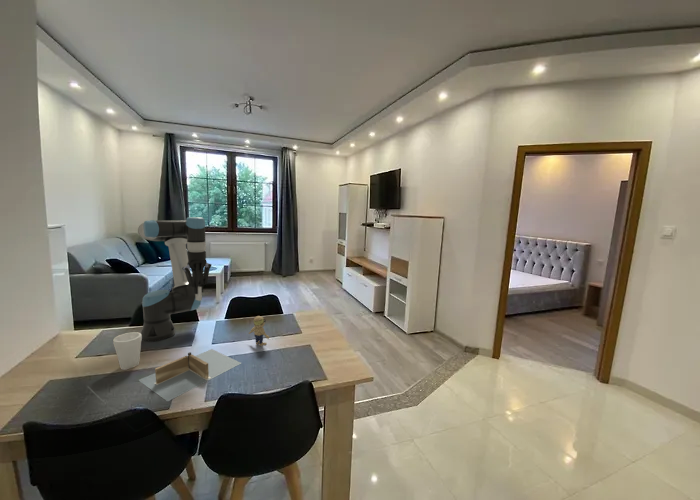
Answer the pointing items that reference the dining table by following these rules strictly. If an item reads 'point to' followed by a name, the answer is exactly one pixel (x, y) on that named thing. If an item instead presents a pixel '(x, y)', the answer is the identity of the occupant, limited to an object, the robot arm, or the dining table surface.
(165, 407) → the dining table surface
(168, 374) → the fixed panel
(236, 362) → the card
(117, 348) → the foam cup
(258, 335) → the toy
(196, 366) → the hinged panel
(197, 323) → the dining table surface
